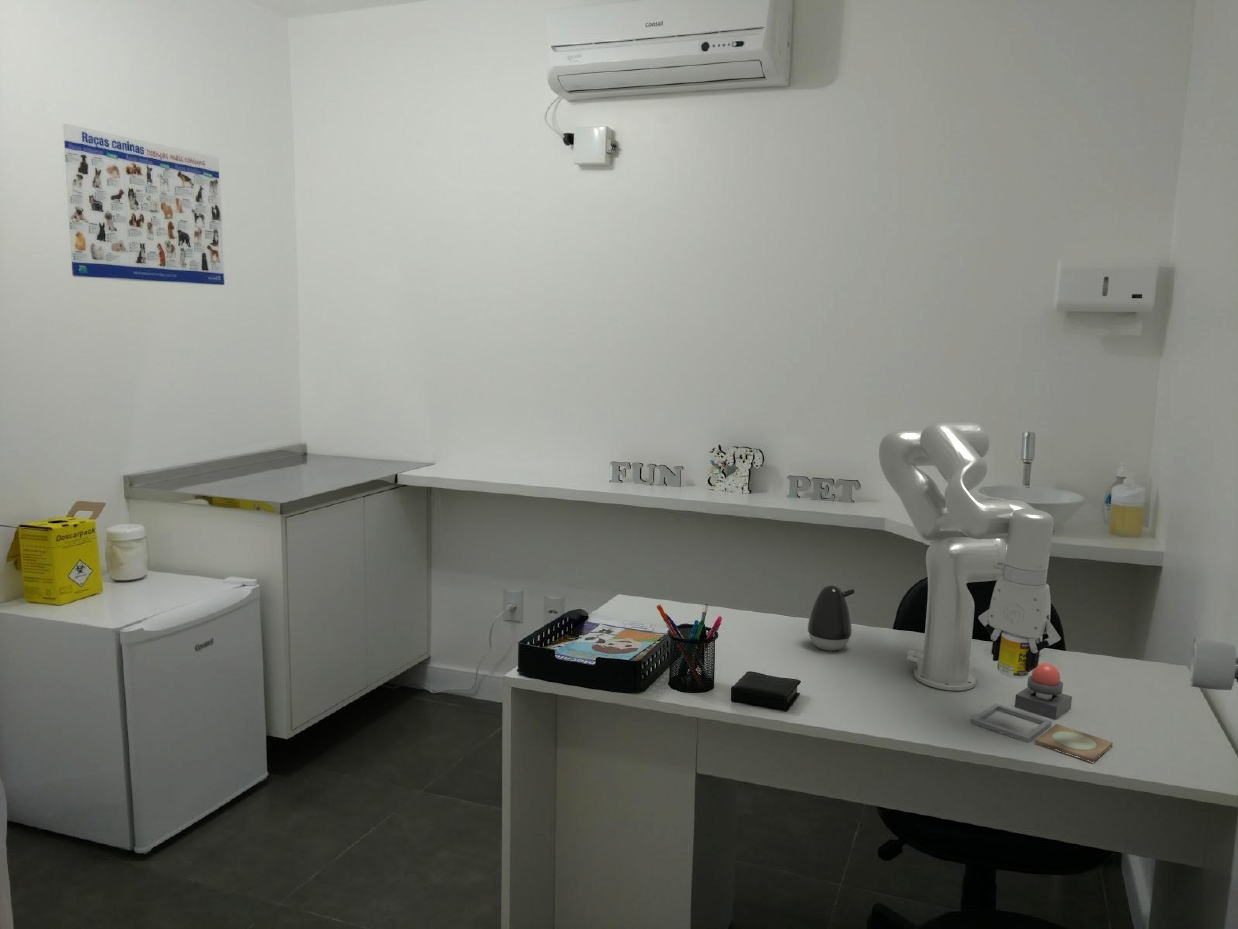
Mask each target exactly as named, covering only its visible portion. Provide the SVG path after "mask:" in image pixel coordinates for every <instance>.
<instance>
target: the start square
mask: <svg viewBox="0 0 1238 929" xmlns="http://www.w3.org/2000/svg"><path fill="white" fill-rule="evenodd" d="M997 711H1000V712H1003V713H1006V712H1007V713H1006V714H1009V715H1012V716H1015V715H1016V716H1015V717H1017V718H1018V717H1019V718H1021V719H1025V720H1028V721H1030V722H1034V723H1036V722H1037V724H1038V725H1037V726H1036V727H1035V728H1033V729H1032V730H1030V731H1029V732H1027V733H1026V734H1024V733H1021V732H1018V731H1015V730H1011V729H1009V728H1006V727H1003V726H1000V725H996V724H995V723H991V722H988V721H985V719H986V718H988V717H989V716H991V715H992V714H994V713H995V712H997ZM970 723H971V724H973V725H976V726H980V727H982V726H983V727H982V728H985V727H986V728H985V729H988V730H990V729H993V730H995V731H994V732H996V731H997V733H999V732H1002V733H1004V734H1003V735H1005V734H1006V736H1008V735H1009V737H1011V736H1013V737H1012V738H1014V737H1016V738H1015V739H1017V738H1018V739H1017V740H1019V739H1021V740H1020V741H1022V740H1023V741H1022V742H1025V741H1026V742H1025V743H1030V742H1032V740H1034V739H1035V738H1037V737H1039V735H1040V734H1041V735H1042V734H1043V733H1044V732H1046V731H1047V729H1050V728H1051V727H1052V723H1053V722H1052V721H1051V720H1049V719H1046V718H1042V717H1038V716H1036V715H1033V714H1031V713H1030V714H1029V713H1027V712H1024V711H1020V710H1018V709H1014V708H1012V707H1008V706H1005V705H1002V704H999V703H996V702H995V703H994V704H992V705H991V706H989V707H987V708H986V709H984V710H982V711H981V712H979V713H978V714H976V715H975V716H972V717H971V719H970ZM1039 723H1040V724H1039ZM993 730H992V731H993ZM1002 733H1001V734H1002Z"/></svg>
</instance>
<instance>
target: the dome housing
mask: <svg viewBox="0 0 1238 929" xmlns="http://www.w3.org/2000/svg"><path fill="white" fill-rule="evenodd" d="M1072 702H1073V696H1072V695H1069V694H1065V693H1063V692H1062V693H1061V694H1058V695H1052V701H1048V700H1044V699H1041V698H1038V697H1036V692H1035V691H1033V690H1031V689H1029V688H1028V686H1027V687H1026V688H1024V689H1023V690H1021V691H1019V692H1018V693H1016V694H1015V700H1014V707H1016V708H1019V709H1022V710H1025V711H1028V712H1031V713H1035V714H1039V715H1041V716H1045V717H1047V718H1049V719H1050V718H1051V719H1053V720H1057V719H1058V718H1060V717H1061V716H1063V715H1064V714H1065V713H1067V712H1068V711H1069V710H1070V709H1072ZM1067 710H1068V711H1067ZM1060 715H1061V716H1060ZM1059 716H1060V717H1059Z"/></svg>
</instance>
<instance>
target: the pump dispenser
mask: <svg viewBox="0 0 1238 929" xmlns="http://www.w3.org/2000/svg"><path fill="white" fill-rule="evenodd" d="M855 593H856V591H855V590H854V588H851V589H847V590H845V591H843V590H842V589H841V588H840V586H839V587H838V585H834V584H828V585H826V586H823V588H821V590H820V591H819V593H818V594H817V596H816V598H815V600H814V602H813V605H812V607H811V610H810V614H809V618H808V623H807V632H808V634H809V635H808V636H809V638H810V641H811V642H812V644H813V645H815V646H816V648H819V649H820V650H823V651H838V650H839V651H840V650H841V649H843V648H844V647H846V645H847V644H848V642H849V640H850V638H851V637H852V631H853V627H852V617H851V612H850V608H849V604H848V601H847V598H848V597H849V596H852V595H853V594H855Z"/></svg>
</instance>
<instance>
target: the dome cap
mask: <svg viewBox="0 0 1238 929" xmlns="http://www.w3.org/2000/svg"><path fill="white" fill-rule="evenodd" d="M1026 685H1027V687H1028V688H1029V689H1031V690H1033V691H1035V692H1036V697H1038V698H1041V699H1044V700H1048V701H1052V695H1058V694H1061V693H1062V694H1063V689H1064V688H1063V687H1064V683H1063V681H1062V680H1061V673H1060V671H1059V669H1058V668H1057V667H1056V666H1055V665H1053V664H1052V663H1051V664H1050V663H1048V662H1043V663H1042V662H1041V663H1038V666H1037V667H1036V668H1035V669H1033V670H1032V671H1031V675H1028V676H1027V684H1026Z"/></svg>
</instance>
